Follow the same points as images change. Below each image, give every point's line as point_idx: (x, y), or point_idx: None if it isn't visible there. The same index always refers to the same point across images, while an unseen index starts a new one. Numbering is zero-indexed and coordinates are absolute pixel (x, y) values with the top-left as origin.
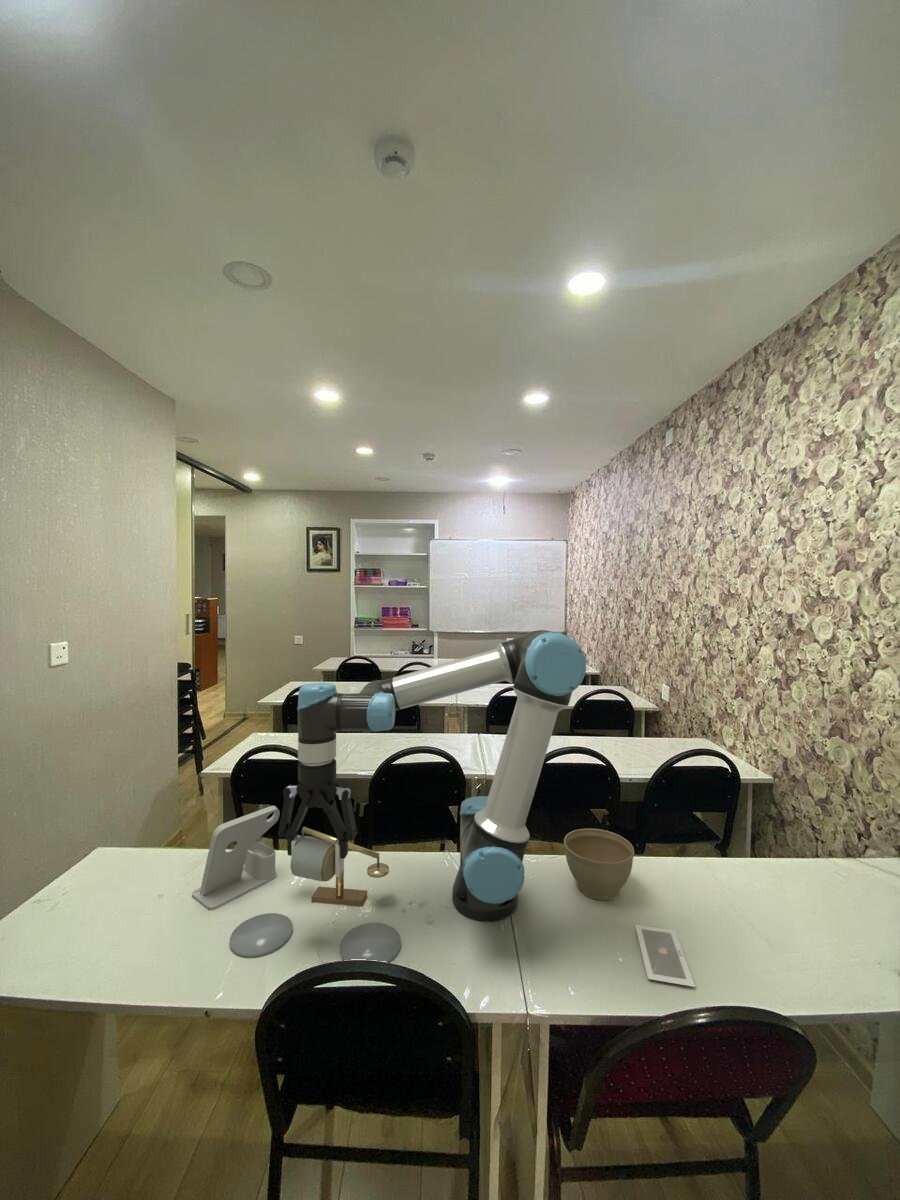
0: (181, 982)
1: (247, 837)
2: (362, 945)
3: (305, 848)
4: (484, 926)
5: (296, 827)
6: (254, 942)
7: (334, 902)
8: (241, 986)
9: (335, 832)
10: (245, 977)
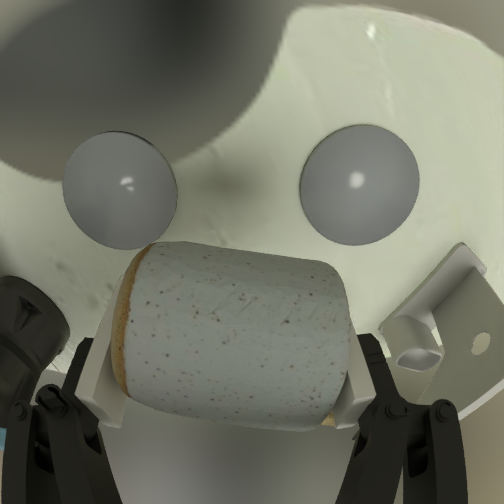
0: (448, 70)
1: (457, 369)
2: (124, 184)
3: (273, 374)
4: (5, 267)
5: (363, 482)
6: (369, 159)
7: None
8: (341, 49)
9: (81, 457)
10: (345, 72)
